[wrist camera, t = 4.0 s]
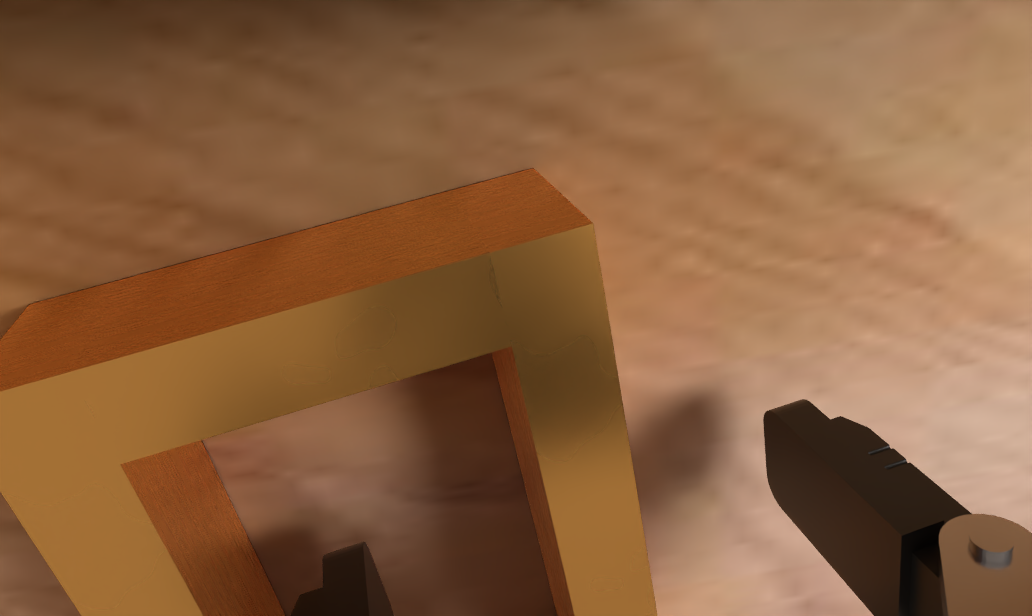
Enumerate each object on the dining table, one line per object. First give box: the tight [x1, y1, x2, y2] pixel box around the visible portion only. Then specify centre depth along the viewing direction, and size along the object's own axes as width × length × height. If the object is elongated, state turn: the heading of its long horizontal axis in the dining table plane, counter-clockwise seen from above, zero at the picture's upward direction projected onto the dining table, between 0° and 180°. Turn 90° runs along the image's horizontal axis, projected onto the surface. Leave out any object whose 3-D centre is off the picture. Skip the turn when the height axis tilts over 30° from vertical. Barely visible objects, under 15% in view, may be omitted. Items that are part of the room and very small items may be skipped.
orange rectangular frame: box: [0, 168, 657, 616], centre depth 13 cm, size 12×8×3 cm, turn 11°
